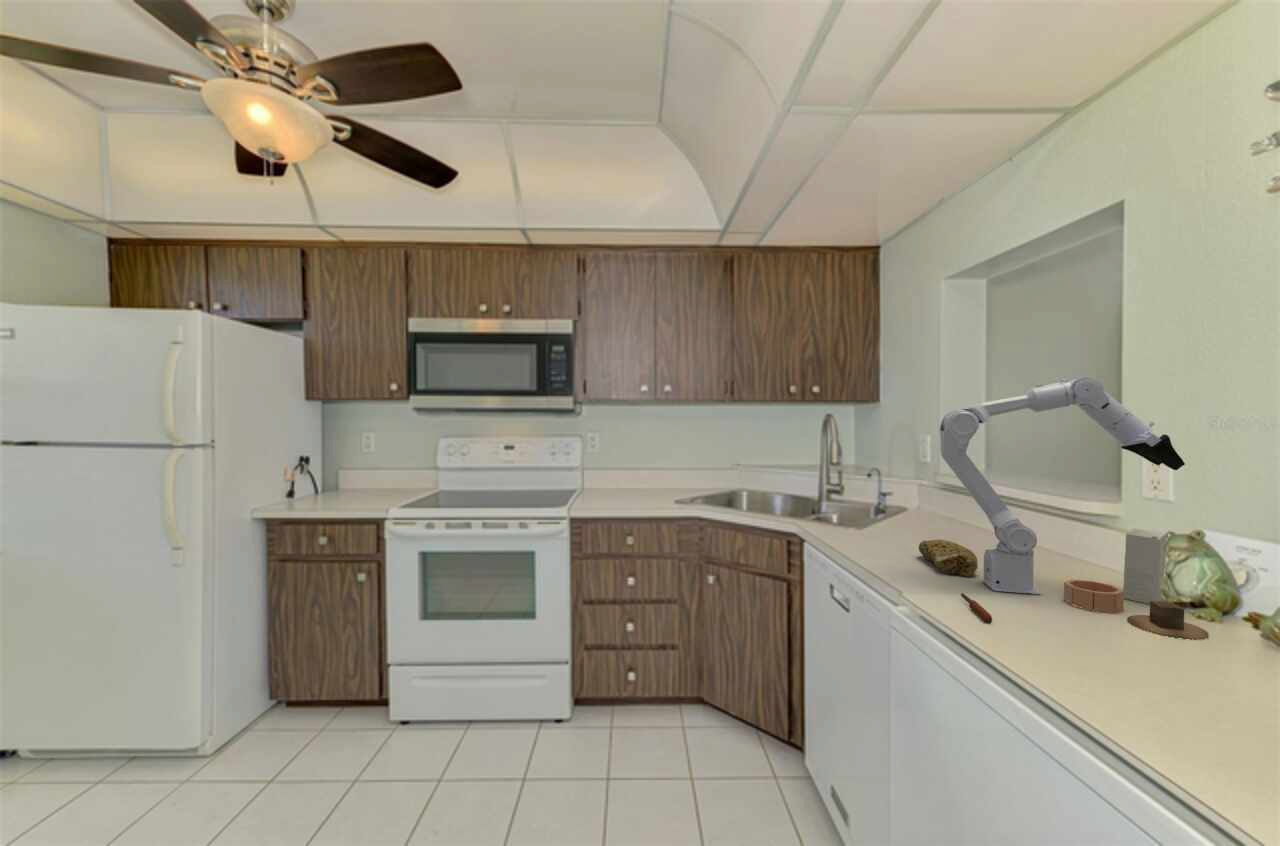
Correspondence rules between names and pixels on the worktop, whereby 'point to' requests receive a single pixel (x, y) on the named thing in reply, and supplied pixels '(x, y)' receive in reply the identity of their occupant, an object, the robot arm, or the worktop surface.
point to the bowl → (1094, 596)
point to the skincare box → (1144, 565)
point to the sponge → (949, 556)
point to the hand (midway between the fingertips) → (1170, 464)
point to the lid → (1167, 622)
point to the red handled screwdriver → (978, 609)
